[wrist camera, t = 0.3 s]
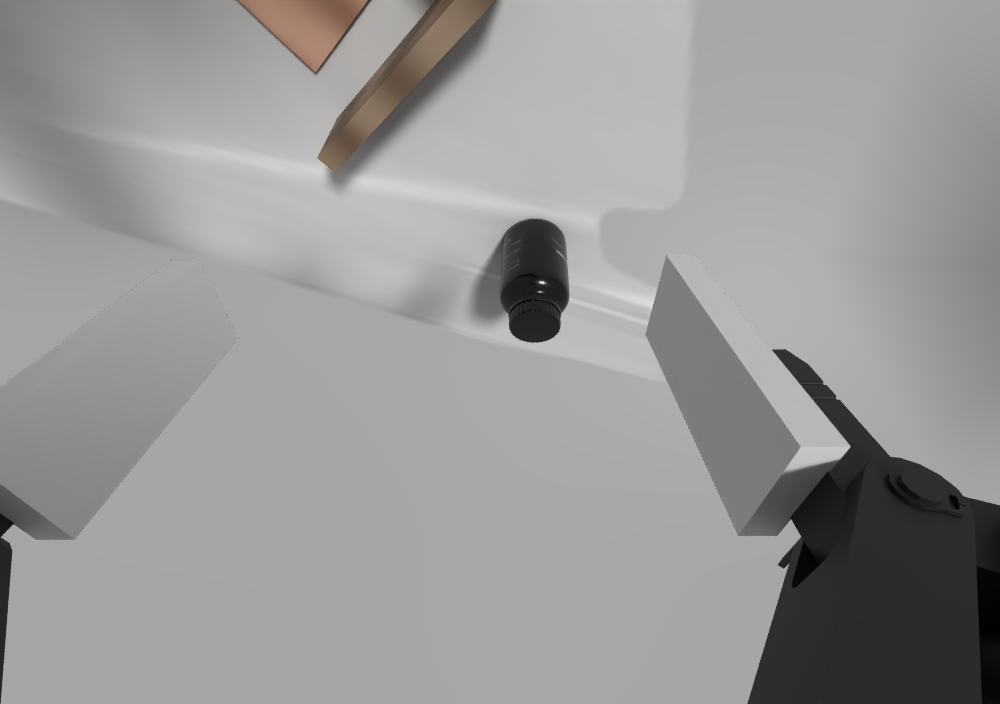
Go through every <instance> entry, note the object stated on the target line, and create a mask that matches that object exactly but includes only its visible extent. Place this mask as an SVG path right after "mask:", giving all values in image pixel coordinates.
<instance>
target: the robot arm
mask: <svg viewBox="0 0 1000 704" xmlns="http://www.w3.org/2000/svg"><path fill="white" fill-rule="evenodd" d="M646 336H647V338H648V341H649V343H650V345H651V347H652V349H653V351H654V354H655V356H656V358H657V360H658V362H659V365H660V367H661V369H662V371H663V373H664V375H665V378H666V380H667V382H668V384H669V386H670V388H671V391H672V393H673V395H674V397H675V399H676V401H677V404H678V406H679V408H680V410H681V412H682V415H683V417H684V419H685V421H686V423H687V425H688V428H689V430H690V432H691V434H692V436H693V439H694V441H695V443H696V445H697V447H698V449H699V451H700V454H701V456H702V458H703V460H704V462H705V465H706V467H707V469H708V471H709V473H710V476H711V478H712V480H713V482H714V484H715V486H716V489H717V491H718V493H719V495H720V497H721V499H722V501H723V504H724V506H725V508H726V510H727V512H728V514H729V517H730V519H731V521H732V523H733V526H734V528H735V530H736V532H737V534H738V536H773V535H774V536H777V535H778V534H779V533H780V532H781V531H782V529H783V528H784V527H785V526H786V525H787V523H788V522H789V521H790V520H791V519H792V521H793V523H794V525H795V526H796V528H797V530H798V532H799V533H800V535H801V538H800V539H799V540H798V541H797V542H796V544H795V545H794V546H793V547H792V548H791V549H790V550H789V551H788V552H787V554H786V555H785V556H784V557H783V558H782V560H781V561H780V562H779V564H778V565H779V566H780V567H782V568H785V567H786V566H787V565H788V564H789V566H788V569H787V573H786V576H785V579H784V583H783V587H782V590H781V593H780V596H779V600H778V603H777V606H776V610H775V613H774V617H773V620H772V623H771V626H770V630H769V633H768V637H767V640H766V643H765V647H764V650H763V653H762V657H761V660H760V663H759V667H758V670H757V674H756V677H755V681H754V684H753V687H752V690H751V694H750V697H749V700H748V704H1000V505H996V504H992V503H987V502H983V501H979V500H975V499H971V498H967V497H964V496H963V495H962V494H961V493H960V492H959V490H958V489H957V488H956V487H954V486H953V485H952V484H951V483H949V482H948V481H947V480H945V479H944V478H943V477H942V476H940V475H939V474H937V473H935V472H933V471H931V470H929V469H928V468H926V467H924V466H922V465H920V464H917V463H914V462H911V461H908V460H905V459H902V458H896V457H890V456H889V455H888V454H887V453H886V451H885V450H884V449H883V448H882V447H881V446H880V445H879V444H878V442H876V440H875V439H874V438H873V437H872V436H871V435H870V434H869V433H868V431H867V430H866V429H865V428H864V427H863V426H862V424H860V423H859V421H858V420H857V419H856V418H855V417H854V415H853V414H852V413H851V412H850V411H849V410H848V409H847V408H846V406H845V405H843V403H842V402H841V401H840V400H836V395H835V394H834V393H833V392H832V391H831V390H830V389H829V387H828V386H827V385H823V381H822V380H821V378H820V377H819V376H818V375H817V374H816V373H815V372H814V370H813V369H812V368H811V367H810V366H809V365H808V364H807V363H805V362H804V361H802V360H801V359H799V358H798V357H796V356H795V355H793V354H792V353H790V352H789V351H787V350H785V349H784V350H771V348H770V347H769V346H768V345H767V343H766V342H765V341H764V340H763V339H762V338H761V336H760V335H759V334H758V332H757V331H756V330H755V329H754V328H753V326H752V325H751V324H750V323H749V321H748V320H747V319H746V318H745V317H744V315H743V314H742V313H741V312H740V310H739V309H738V308H737V307H736V306H735V304H734V303H733V302H732V301H731V300H730V298H729V297H728V296H727V295H726V293H725V292H724V291H723V290H722V288H721V287H720V286H719V285H718V284H717V282H716V281H715V280H714V279H713V277H712V276H711V275H710V274H709V273H708V271H707V270H706V269H705V268H704V266H703V265H702V264H701V263H700V262H699V260H698V259H697V258H696V257H695V255H666V259H665V262H664V266H663V270H662V274H661V278H660V281H659V285H658V289H657V293H656V297H655V301H654V304H653V308H652V312H651V316H650V320H649V323H648V327H647V331H646ZM238 338H239V337H238V335H237V334H236V332H235V330H234V328H233V326H232V324H231V322H230V320H229V318H228V316H227V314H226V312H225V310H224V308H223V306H222V304H221V303H220V301H219V298H218V297H217V295H216V293H215V291H214V289H213V287H212V285H211V283H210V281H209V279H208V277H207V275H206V273H205V271H204V269H203V267H202V265H201V263H200V261H199V260H171V261H170V262H168V263H167V264H166V265H164V266H163V267H162V268H160V269H159V270H158V271H156V272H155V273H153V274H152V275H151V276H150V277H148V278H147V279H146V280H144V281H143V282H141V283H140V284H139V285H137V286H136V287H135V288H133V289H132V290H131V291H129V292H128V293H126V294H125V295H124V296H122V297H121V298H120V299H118V300H117V301H116V302H114V303H113V304H112V305H110V306H109V307H108V308H106V309H105V310H104V311H102V312H101V313H99V314H98V315H97V316H95V317H94V318H93V319H91V320H90V321H89V322H87V323H86V324H85V325H83V326H82V327H80V328H79V329H78V330H76V331H75V332H74V333H72V334H71V335H70V336H69V337H67V338H66V339H65V340H63V341H62V342H60V343H59V344H58V345H56V346H55V347H53V348H52V349H51V350H49V351H48V352H47V353H45V354H44V355H43V356H41V357H40V358H39V359H37V360H36V361H34V362H33V363H32V364H30V365H29V366H28V367H26V368H25V369H24V370H22V371H21V372H20V373H18V374H17V375H16V376H14V377H13V378H12V379H10V380H9V381H7V382H6V383H5V384H3V385H2V386H1V387H0V703H1V691H2V678H3V664H4V652H5V638H6V626H7V612H8V599H9V586H10V574H11V561H12V549H11V546H10V543H8V542H7V541H5V540H4V539H2V538H1V536H2V535H3V534H4V533H5V532H6V531H7V530H8V529H9V528H10V527H11V526H12V525H13V524H14V525H16V526H17V527H19V528H20V529H22V530H23V531H25V532H26V533H27V534H29V535H30V536H32V537H33V538H35V539H36V540H54V539H55V540H56V539H57V540H59V539H60V540H67V539H69V540H70V539H75V538H76V537H77V536H78V535H79V533H80V532H81V531H82V530H83V529H84V527H85V526H86V525H87V524H88V522H89V521H90V520H91V519H92V517H93V516H94V515H95V514H96V513H97V511H98V510H99V509H100V508H101V507H102V505H103V504H104V503H105V502H106V500H107V499H108V498H109V497H110V495H111V494H112V493H113V492H114V490H115V489H116V488H117V487H118V486H119V484H120V483H121V482H122V481H123V479H124V478H125V477H126V476H127V474H128V473H129V472H130V471H131V469H132V468H133V467H134V466H135V465H136V464H137V462H138V461H139V460H140V458H141V457H142V456H143V455H144V454H145V453H146V451H147V450H148V448H150V446H151V445H152V444H153V443H154V441H155V440H156V439H157V438H158V437H159V435H160V434H161V433H162V432H163V430H164V429H165V428H166V427H167V425H168V424H169V423H170V422H171V421H172V419H173V418H174V417H175V416H176V414H177V413H178V412H179V411H180V410H181V408H182V407H183V406H184V405H185V403H186V402H187V401H188V400H189V398H190V397H191V396H192V395H193V394H194V392H195V391H196V390H197V389H198V387H199V386H200V385H201V384H202V383H203V381H204V380H205V379H206V378H207V376H208V375H209V374H210V373H211V371H212V370H213V369H214V368H215V367H216V365H217V364H218V363H219V362H220V360H221V359H222V358H223V357H224V356H225V354H226V353H227V352H228V351H229V349H230V348H231V347H232V346H233V344H234V343H235V342H236V341H237V340H238Z"/></svg>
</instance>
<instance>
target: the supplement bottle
mask: <svg viewBox="0 0 1000 704" xmlns="http://www.w3.org/2000/svg"><path fill="white" fill-rule="evenodd" d="M500 301H501V304H502V306H503V308H504V310H505V311H506V312H507V313H508V314H509V329H510V331H511V333H512V334H513V336H515V337H516V338H518V339H519V340H522V341H526V342H532V343H534V342H536V343H538V342H543V341H547V340H549V339H551V338H553V337H555V335H557V333H558V332H559V329H560V325H561V322H560V318H561V313H562V312H563V311H564V310H565V308H566V306H567V304H568V302H569V279H568V266H567V252H566V242H565V237H564V235H563V233H562V231H561V230H560V229H559V228H558V227H557V226H556V225H555V224H553V223H551V222H549V221H546V220H543V219H528V220H524V221H521V222H519V223H517V224H515V225H514V226H513V227H512V228H511V229H510V230H509V231H508V232H507V234H506V236H505V238H504V242H503V251H502V268H501V285H500Z"/></svg>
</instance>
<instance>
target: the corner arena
mask: <svg viewBox="0 0 1000 704" xmlns="http://www.w3.org/2000/svg"><path fill="white" fill-rule="evenodd" d="M239 1H240V2H241V3H242V4H243V5H244V6H245V7H246V8H247V9H248V10H249V11H250V12H252V13H253V14H254V15H255V16H256V17H257V18H258V19H259V20H260V21H261V22H262V23H263V24H264V25H265V26H266V27H267V28H269V29H270V30H271V31H272V32H273V33H274V34H275V35H276V36H277V37H278V38H279V39H280V40H281V41H282V42H283V43H285V44H286V45H287V46H288V47H289V48H290V49H291V50H292V51H293V52H294V53H295V54H296V55H297V56H298V57H299V58H301V59H302V60H303V61H304V62H305V63H306V64H307V65H308V66H309V67H310V68H311V69H312V70H313V71H314V72H315V73H316V71H317V70H318V68H319V67H320V66H321V64H322V63H323V62H324V60H325V59H326V57H327V56H328V55H329V53H330V52H331V51H332V49H333V48H334V46H335V45H336V44H337V42H338V41H339V39H340V38H341V37H342V35H343V34H344V33H345V31H346V30H347V28H348V27H349V26H350V24H351V23H352V22H353V20H354V19H355V17H356V16H357V15H358V13H359V12H360V11H361V9H362V8H363V6H364V5H365V4H366V2H367V1H368V0H239ZM495 1H496V0H436V1H435V2H434V3H433V5H432V6H431V7H430V8H429V9H428V11H427V12H426V13H425V14H424V15H423V17H422V18H421V19H420V20H419V21H418V23H417V24H416V25H415V26H414V27H413V29H412V30H411V31H410V32H409V33H408V35H407V36H406V37H405V38H404V39H403V40H402V42H401V43H400V44H399V45H398V46H397V48H396V49H395V50H394V51H393V52H392V54H391V55H390V56H389V57H388V58H387V60H386V61H385V62H384V63H383V64H382V66H381V67H380V68H379V69H378V70H377V72H376V73H375V74H374V75H373V76H372V77H371V79H370V80H369V81H368V82H367V83H366V85H365V86H364V87H363V88H362V89H361V91H360V92H359V93H358V94H357V95H356V97H355V98H354V99H353V100H352V101H351V103H350V104H349V105H348V106H347V107H346V109H345V110H344V111H343V112H342V113H341V114H340V116H339V117H338V118H337V120H336V122H335V124H334V126H333V128H332V130H331V132H330V134H329V136H328V138H327V140H326V142H325V144H324V146H323V148H322V150H321V152H320V154H319V156H318V159H319V160H320V161H321V162H323V163H324V164H325V165H326V166H328V167H329V168H330V169H331V170H333V171H334V172H336V171H337V170H338V169H339V167H340V166H341V165H342V164H343V163H344V162H345V161H346V160H347V159H348V158H349V157H350V156H351V155H352V154H353V152H354V151H355V150H356V149H357V148H358V147H359V146H360V145H361V144H362V143H363V142H364V141H365V140H366V139H367V138H368V136H369V135H370V134H371V133H372V132H373V131H374V130H375V129H376V128H377V127H378V126H379V125H380V124H381V123H382V121H383V120H384V119H385V118H386V117H387V116H388V115H389V114H390V113H391V112H392V111H393V110H394V109H395V108H396V107H397V105H398V104H399V103H400V102H401V101H402V100H403V99H404V98H405V97H406V96H407V95H408V94H409V93H410V92H411V90H412V89H413V88H414V87H415V86H416V85H417V84H418V83H419V82H420V81H421V80H422V79H423V78H424V77H425V76H426V74H427V73H428V72H429V71H430V70H431V69H432V68H433V67H434V66H435V65H436V64H437V63H438V62H439V61H440V59H441V58H442V57H443V56H444V55H445V54H446V53H447V52H448V51H449V50H450V49H451V48H452V47H453V46H454V45H455V43H456V42H457V41H458V40H459V39H460V38H461V37H462V36H463V35H464V34H465V33H466V32H467V31H468V30H469V28H470V27H471V26H472V25H473V24H474V23H475V22H476V21H477V20H478V19H479V18H480V17H481V16H482V15H483V14H484V12H485V11H486V10H487V9H488V8H489V7H490V6H491V5H492V4H493V3H494V2H495Z"/></svg>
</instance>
